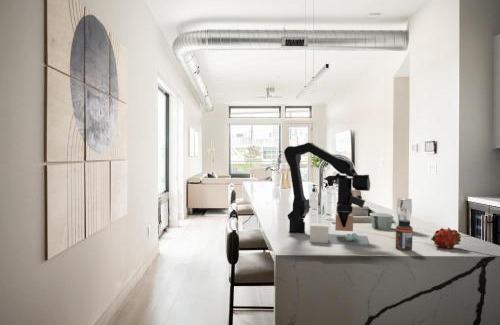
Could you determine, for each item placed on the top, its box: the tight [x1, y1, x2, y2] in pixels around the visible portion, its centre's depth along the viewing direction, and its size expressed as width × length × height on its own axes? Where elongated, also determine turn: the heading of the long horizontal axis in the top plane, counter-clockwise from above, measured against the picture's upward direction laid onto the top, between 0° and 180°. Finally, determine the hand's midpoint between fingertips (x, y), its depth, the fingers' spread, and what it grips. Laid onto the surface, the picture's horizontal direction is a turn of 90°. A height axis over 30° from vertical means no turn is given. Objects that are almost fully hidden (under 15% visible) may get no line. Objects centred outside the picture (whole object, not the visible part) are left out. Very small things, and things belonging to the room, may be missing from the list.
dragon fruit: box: [431, 227, 462, 249], centre depth 162 cm, size 8×8×12 cm
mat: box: [308, 233, 371, 247], centre depth 173 cm, size 24×21×1 cm
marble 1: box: [345, 233, 353, 241], centre depth 169 cm, size 3×3×3 cm
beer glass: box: [396, 197, 413, 226], centre depth 201 cm, size 7×7×15 cm
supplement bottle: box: [395, 220, 414, 252], centre depth 157 cm, size 6×6×11 cm
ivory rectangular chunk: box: [309, 222, 330, 244], centre depth 169 cm, size 7×7×6 cm
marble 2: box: [351, 232, 359, 241], centre depth 171 cm, size 3×3×3 cm
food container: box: [369, 212, 395, 230], centre depth 207 cm, size 12×12×6 cm
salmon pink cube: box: [334, 212, 354, 232], centre depth 178 cm, size 7×7×6 cm
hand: (343, 225), depth 178 cm, fingers closed on salmon pink cube, 7 cm apart
